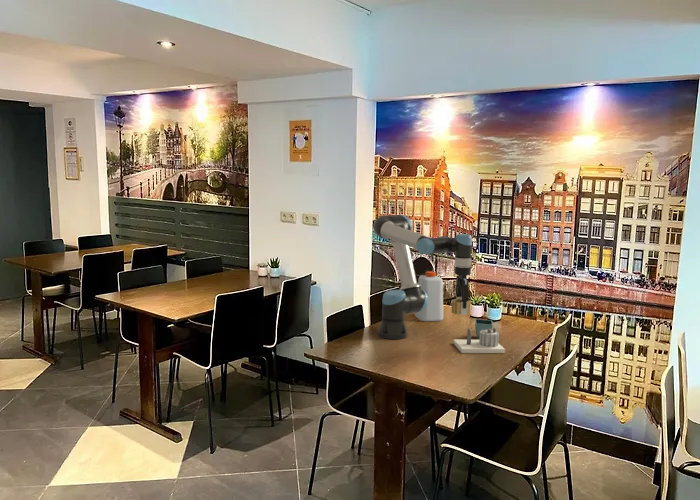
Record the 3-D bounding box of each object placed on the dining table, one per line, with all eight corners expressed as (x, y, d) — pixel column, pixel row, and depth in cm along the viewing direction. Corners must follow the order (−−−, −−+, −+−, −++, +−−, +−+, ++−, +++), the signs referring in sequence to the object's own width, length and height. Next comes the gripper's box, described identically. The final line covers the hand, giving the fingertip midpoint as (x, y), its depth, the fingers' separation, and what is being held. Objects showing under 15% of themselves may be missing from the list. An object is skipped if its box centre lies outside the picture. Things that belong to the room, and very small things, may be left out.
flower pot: (492, 341, 268) (493, 324, 267) (474, 340, 270) (475, 323, 269) (491, 336, 277) (492, 320, 276) (473, 335, 279) (474, 318, 278)
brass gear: (453, 315, 249) (454, 302, 248) (449, 310, 258) (450, 298, 257) (472, 315, 249) (473, 302, 248) (467, 310, 258) (468, 298, 257)
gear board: (461, 353, 249) (463, 332, 248) (453, 343, 264) (454, 324, 263) (504, 353, 251) (506, 332, 249) (494, 343, 265) (495, 324, 264)
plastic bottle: (412, 315, 317) (414, 270, 313) (436, 314, 319) (438, 269, 316) (420, 322, 302) (422, 274, 298) (445, 321, 305) (447, 274, 301)
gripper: (476, 270, 240) (474, 317, 243) (464, 263, 262) (463, 307, 264) (460, 269, 240) (458, 317, 242) (450, 263, 261) (448, 307, 264)
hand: (461, 312), depth 253 cm, fingers closed on brass gear, 9 cm apart
